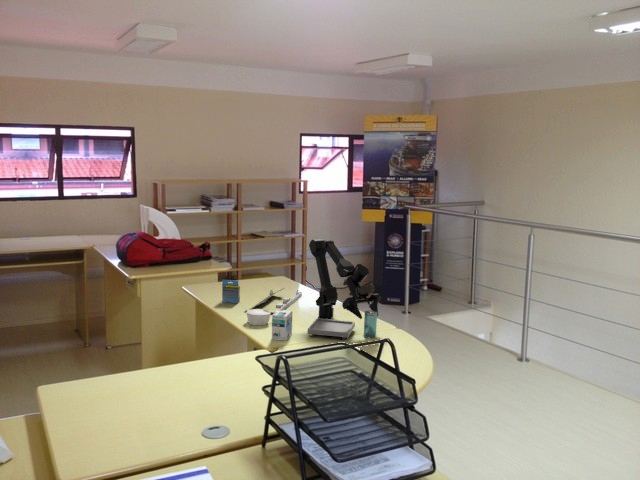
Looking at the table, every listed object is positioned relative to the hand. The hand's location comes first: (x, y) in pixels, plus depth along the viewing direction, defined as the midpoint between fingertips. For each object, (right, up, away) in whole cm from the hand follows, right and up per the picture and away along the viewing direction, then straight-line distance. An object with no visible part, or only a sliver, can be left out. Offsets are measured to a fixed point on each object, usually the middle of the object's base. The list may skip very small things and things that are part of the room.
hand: (369, 317), depth 266 cm
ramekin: (-51, -5, +16) cm, 54 cm away
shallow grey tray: (-17, -8, +2) cm, 19 cm away
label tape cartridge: (-69, +1, +52) cm, 87 cm away
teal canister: (0, -8, +1) cm, 9 cm away
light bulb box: (-39, -8, -4) cm, 40 cm away
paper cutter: (-46, 0, +52) cm, 70 cm away
